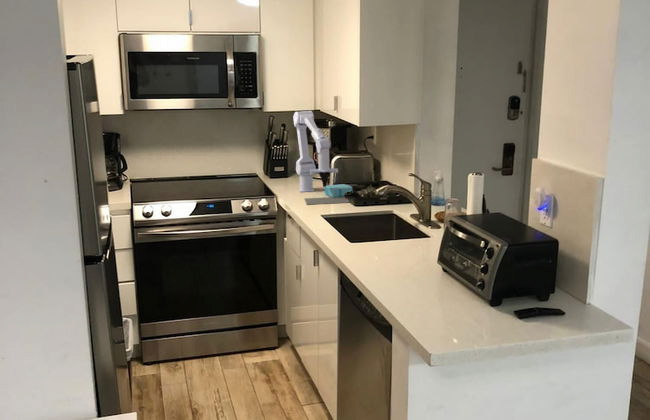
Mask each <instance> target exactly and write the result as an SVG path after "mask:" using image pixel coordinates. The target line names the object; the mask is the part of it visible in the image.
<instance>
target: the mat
mask: <svg viewBox="0 0 650 420" xmlns="http://www.w3.org/2000/svg"><path fill="white" fill-rule="evenodd" d="M304 201H305V203H306V205H307V206H310V205H328V204H329V205H330V204H333V205H334V204H349V203H351V202H350V200H349V199H348V198H347V199H346V198H345V197H344V196H343V197H331V196H327V197H326V196H325V197H309V198H308V197H307V198H304Z"/></svg>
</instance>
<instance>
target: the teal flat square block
mask: <svg viewBox="0 0 650 420" xmlns="http://www.w3.org/2000/svg"><path fill="white" fill-rule="evenodd" d="M351 191H352V192H353V186H351V185H349V184H348V185H347V184H344V183H342V184H340V183H339V184H329V185H326V187H324V195H326V196H327V197H343V196H344V194H345V193H347V192H351Z"/></svg>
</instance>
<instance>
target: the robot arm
mask: <svg viewBox="0 0 650 420" xmlns="http://www.w3.org/2000/svg"><path fill="white" fill-rule="evenodd" d="M292 117H293V125H294V128H296V133H297V141H298V150H299V156H300V157H299V158H298V159H297V160H296V162H295V171H296V174H297V176H299V187H298V191H299V192H300V193H306V192H315V189H314V184H313V182H314V179H313V175H314V174H318V175H319V177H320V179H321V183H322V187H323V188H325V187H326V186H327V183H328V179H329V176H330V173H333V174H334V173H336V174H337V173H339V168H334V167H333V168H330V149H331V147H332V142H331V139H330V138H329V137H327V136H325V134H324V132H323V131H322V128H319V127H318V126H317V125H316V122H315V117H314V112H313V111H312V110H307V111H306V110H304V111H295V112H294V114H293V116H292ZM307 128H308V129H309V130H310V131H311V133H310V134H311V137H312V138H313V140H314V142H315V147H316V152H317V154H318V155H317V156H318V160H317V161H318V168H316V164H315V160H314V159H313V158H311V157H310V152H309V144H308V135H307Z"/></svg>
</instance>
